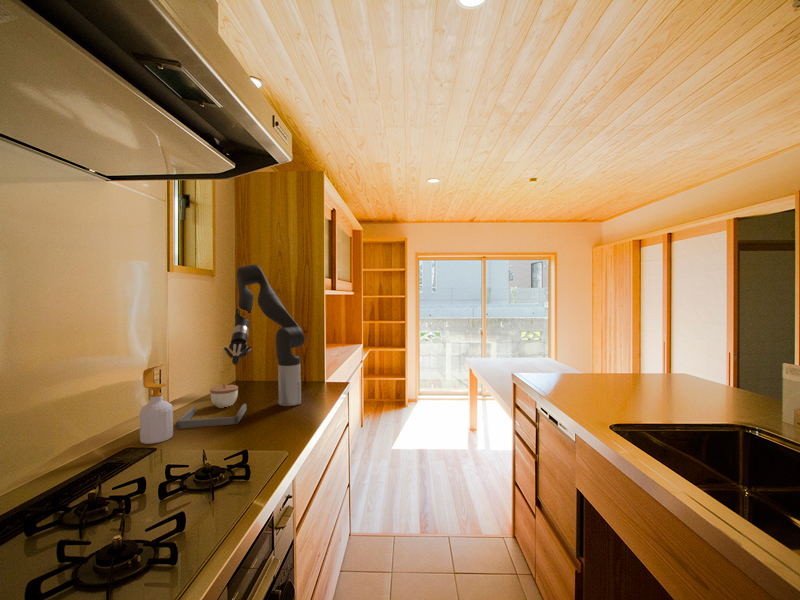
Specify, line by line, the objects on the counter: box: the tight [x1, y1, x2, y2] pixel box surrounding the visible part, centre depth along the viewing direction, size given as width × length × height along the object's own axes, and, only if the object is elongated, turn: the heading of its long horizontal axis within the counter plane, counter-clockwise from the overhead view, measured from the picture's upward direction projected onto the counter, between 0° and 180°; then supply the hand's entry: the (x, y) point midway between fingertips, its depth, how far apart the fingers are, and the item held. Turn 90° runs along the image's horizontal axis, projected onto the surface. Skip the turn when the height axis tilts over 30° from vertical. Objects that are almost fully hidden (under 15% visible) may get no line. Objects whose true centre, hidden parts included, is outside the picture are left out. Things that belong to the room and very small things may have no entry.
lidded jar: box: [209, 383, 239, 409], centre depth 155 cm, size 11×11×9 cm
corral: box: [175, 403, 247, 430], centre depth 139 cm, size 20×17×2 cm
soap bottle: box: [139, 363, 174, 445], centre depth 119 cm, size 9×9×25 cm
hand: (235, 363), depth 175 cm, fingers closed
